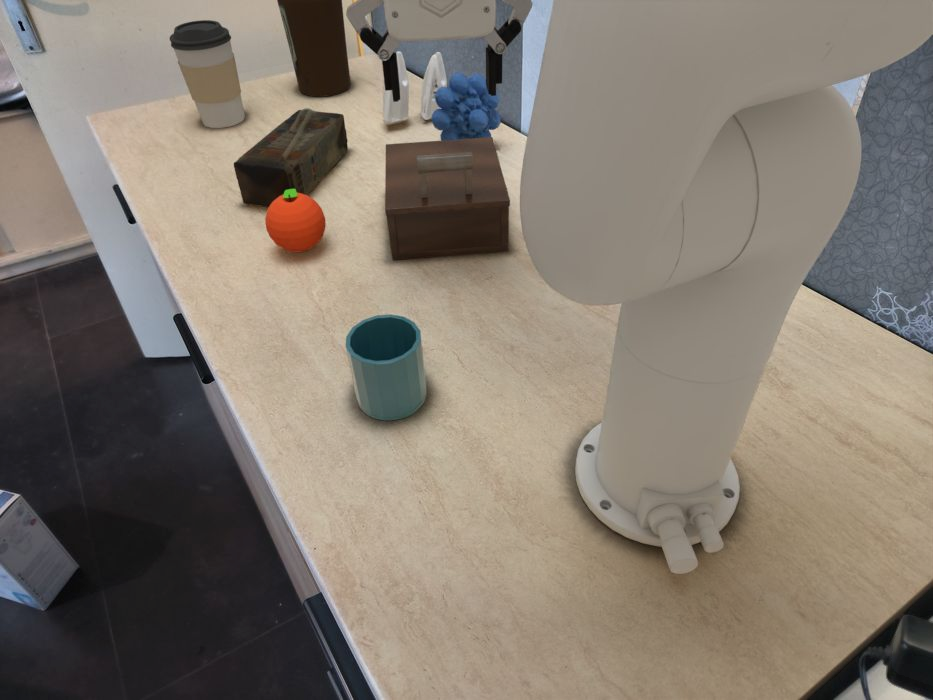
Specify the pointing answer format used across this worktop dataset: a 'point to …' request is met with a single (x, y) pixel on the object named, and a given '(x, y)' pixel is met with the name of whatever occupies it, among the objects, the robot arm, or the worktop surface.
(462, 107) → the grapes
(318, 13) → the olive oil
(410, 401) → the cup
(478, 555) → the worktop surface
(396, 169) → the lid
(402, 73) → the shaker set
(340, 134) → the beverage carton
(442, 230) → the brown wooden box
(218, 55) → the coffee cup
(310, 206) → the clementine
